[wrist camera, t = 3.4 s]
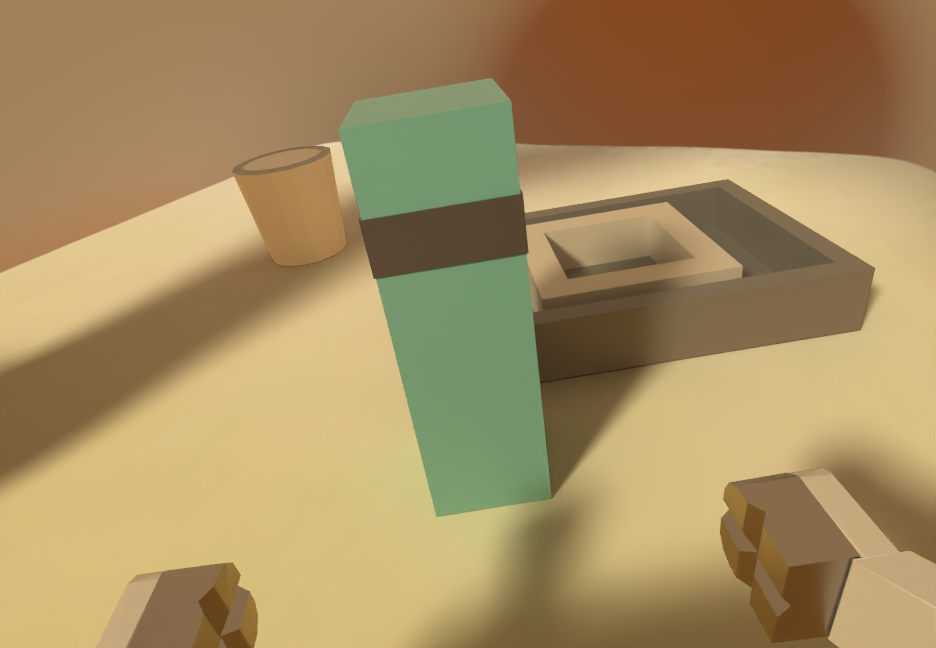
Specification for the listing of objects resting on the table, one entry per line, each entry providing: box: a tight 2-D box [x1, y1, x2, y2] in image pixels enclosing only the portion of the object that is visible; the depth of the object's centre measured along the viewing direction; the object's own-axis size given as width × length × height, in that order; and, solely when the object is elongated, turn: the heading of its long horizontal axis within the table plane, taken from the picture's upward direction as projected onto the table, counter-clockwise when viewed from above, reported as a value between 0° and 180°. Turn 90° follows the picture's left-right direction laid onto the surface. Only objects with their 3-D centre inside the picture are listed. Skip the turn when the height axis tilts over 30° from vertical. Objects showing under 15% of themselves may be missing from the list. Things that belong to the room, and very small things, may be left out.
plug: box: [338, 78, 552, 517], centre depth 18 cm, size 4×4×13 cm
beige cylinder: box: [232, 146, 346, 266], centre depth 42 cm, size 7×7×7 cm
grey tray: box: [525, 179, 875, 382], centre depth 30 cm, size 18×13×3 cm
